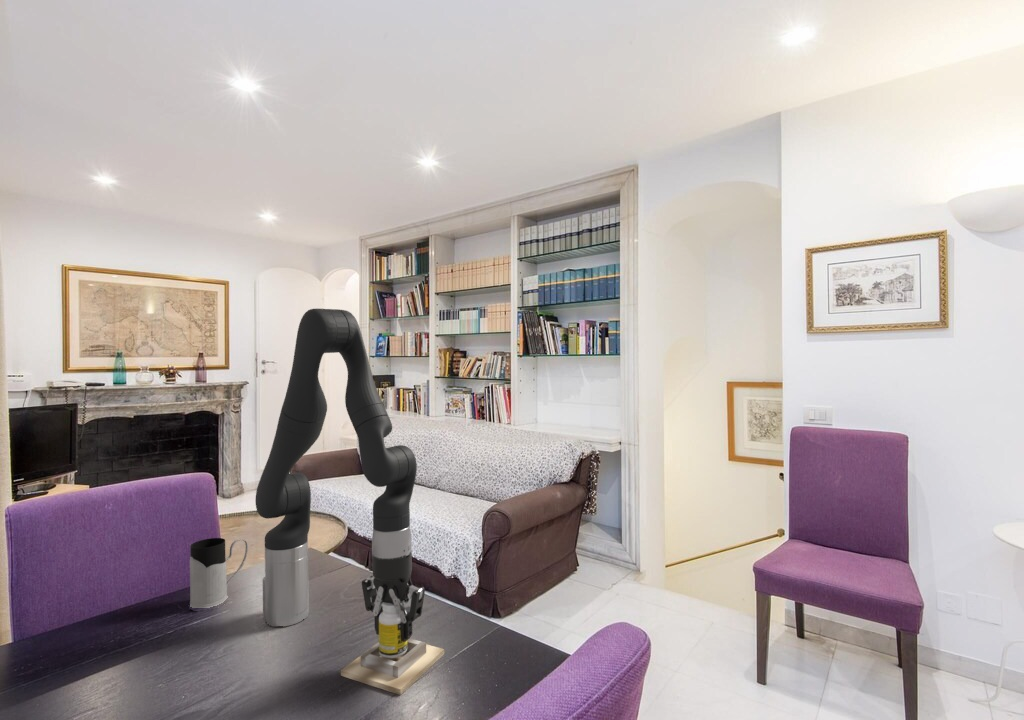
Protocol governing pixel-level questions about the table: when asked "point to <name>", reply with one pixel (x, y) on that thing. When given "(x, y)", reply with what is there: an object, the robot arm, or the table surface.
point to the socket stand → (393, 666)
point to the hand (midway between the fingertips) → (393, 636)
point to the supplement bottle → (390, 633)
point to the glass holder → (210, 572)
